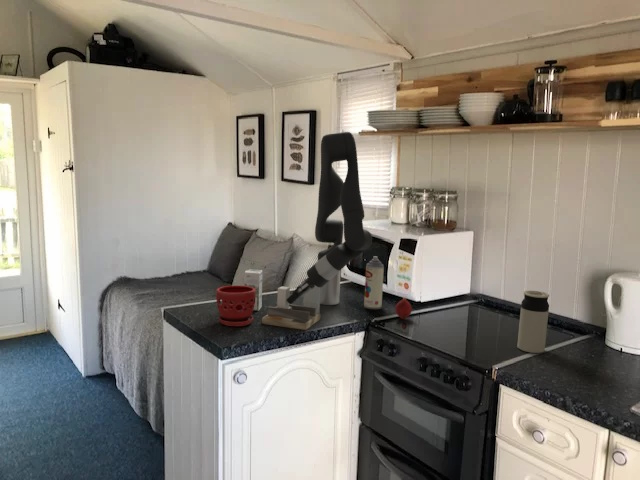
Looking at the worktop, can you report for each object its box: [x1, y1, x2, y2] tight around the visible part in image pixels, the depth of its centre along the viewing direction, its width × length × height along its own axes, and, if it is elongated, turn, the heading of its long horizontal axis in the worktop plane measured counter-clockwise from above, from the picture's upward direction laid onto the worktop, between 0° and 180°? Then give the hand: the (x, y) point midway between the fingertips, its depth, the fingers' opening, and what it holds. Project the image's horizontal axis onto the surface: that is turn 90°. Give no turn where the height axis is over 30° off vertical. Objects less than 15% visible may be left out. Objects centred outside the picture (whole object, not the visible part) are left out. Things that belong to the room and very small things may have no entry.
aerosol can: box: [363, 255, 385, 310], centre depth 209 cm, size 7×7×20 cm
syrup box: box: [243, 269, 263, 312], centre depth 200 cm, size 6×6×14 cm
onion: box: [394, 297, 413, 320], centre depth 195 cm, size 6×6×8 cm
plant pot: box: [215, 285, 256, 327], centre depth 182 cm, size 13×13×12 cm
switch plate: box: [261, 301, 321, 331], centre depth 187 cm, size 14×16×5 cm
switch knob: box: [276, 285, 292, 309], centre depth 187 cm, size 4×5×9 cm
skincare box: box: [302, 278, 321, 314], centre depth 199 cm, size 6×4×12 cm
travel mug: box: [516, 290, 550, 354], centre depth 167 cm, size 8×8×18 cm
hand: (288, 301), depth 187 cm, fingers closed
